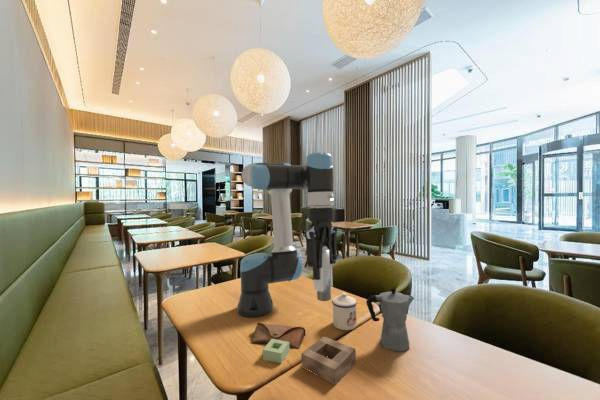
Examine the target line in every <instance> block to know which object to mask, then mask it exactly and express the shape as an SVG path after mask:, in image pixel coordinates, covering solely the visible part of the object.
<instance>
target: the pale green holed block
mask: <svg viewBox="0 0 600 400" xmlns="http://www.w3.org/2000/svg"><path fill="white" fill-rule="evenodd" d="M289 353H290V347H289V342H287V341H281V340H276V339H271V340H270V342H269V343H268V344H265V346H264V348H263V349H262V359H263V361H267V362H272V363H277V364H283V363H284V360H285V359H286V357H287V356H288V354H289Z"/></svg>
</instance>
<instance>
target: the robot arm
mask: <svg viewBox="0 0 600 400" xmlns="http://www.w3.org/2000/svg"><path fill="white" fill-rule="evenodd" d="M305 161H306V162H305V165H297V164H296V165H293V164H290V163H288V162H287V163H285V162H254V163H250V164H248V165H246V166H244V167H243V169H242V170H241V180H242V182H243V183H244V184H245V185H246V186H249V187H250V188H251V189H252V190H253V189H254V190H260V191H261V190H262V191H263V190H267V193H268V194H269V195H270V200H271V201H270V202H271V217H272V232H273V245H274V246H273V249H272V250H271V253H270V255H268V253H266V252H256V253H253V254H249V255H246V256H244V257H243V258H242V259H241V260H240V268H239V271H240V296H239V300H238V302H237V308H236V309H237V311H238V312H237V314H238V313H239V314H238V315H239V316H241V317H244V318H256V317H264V316H265V315H267V314H270V313H271V312H272V311H273V310H274V301H273V299H272V296H271V294H270V291H269V284H276V283H282V282H291V281H296V280H298V279H299V278H300V277H301V275H302V272H303V258H302V254H301V253H299V252H298V249H297V248H296V247H295V246H294V240H293V239H294V238H293V227H292V211H291V200H290V194H291V193H292V192H293V190H307V192H306V193H307V206H308V207H309V208H308V209H307V215H308V216H307V218H308V221H309V222H311V224H310V229H309V230H308V231H307V230H306V231H304V233H303V235H304V239H305V245H306V249H305V250H306V261H307V262H306V263H307V267H310V268H312V278H313V285H314V286H313V289H314V291H316V292H317V291H321V292H323V291H324V286H323V268H322V267H321V259H322V247H323V244H324V245H326V246H327V248H328V249H329V254H330V283H331V288H332V287H334V285H333V265H335V264H336V262H337V259H338V253H337V251H338V249H337V234H338V226H333V224H332V221H334V220H335V208H334V207H333V206H334V204H335V203H334V202H335V200H334V198H335V195H334V165H333V157H332V154H330V153H328V152H313V153H310V154H309V153H308V154H307V156H306V159H305Z"/></svg>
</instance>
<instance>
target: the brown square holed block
mask: <svg viewBox="0 0 600 400" xmlns="http://www.w3.org/2000/svg"><path fill="white" fill-rule="evenodd" d="M356 355H357V352H356V348H354V347H352V346H350V345H346V344H344V343H343V342H339V341H337V340H334V339H332V338H329V337H326V336H322V337H320V338H319V339H318V340H317V341H315V342H314V343H313V344H312V345H310V346H309V347H308V348H306V349H304V351H302V352H301V368H302V367H304V368H306V369H308V370H310V371H312V372H313V373H315V374H317V375H318V376H317V375H316V376H317V377H319V376H320V377H319V378H321V377H322V378H324V379H326V380H327V381H326V380H325V381H326V382H328V381H329V382H328V383H330V382H331V383H330V384H332V383H333V384H332V385H333V386H337V385H338V383H339V382H340V381H341V380H342V379H343V378H344V376H346V374H347V373H348V372H349V371H350V370H351V369H352V368H353V367H352V366H355V364H357V356H356ZM326 356H328V357H330V358H332V359H330V358H328V357H326ZM304 368H303V369H304ZM306 369H305V370H306ZM313 373H312V374H313ZM315 374H314V375H315ZM322 378H321V379H322ZM324 379H323V380H324Z"/></svg>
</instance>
